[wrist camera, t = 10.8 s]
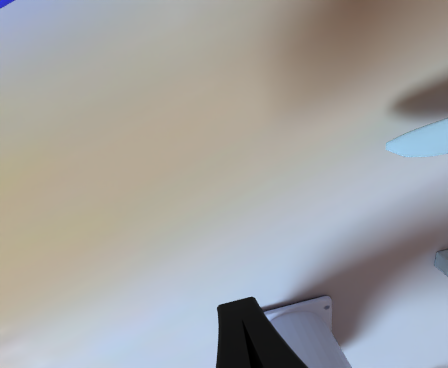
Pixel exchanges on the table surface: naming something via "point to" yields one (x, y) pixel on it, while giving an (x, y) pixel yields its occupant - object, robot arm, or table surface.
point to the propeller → (422, 141)
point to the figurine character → (5, 2)
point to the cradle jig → (442, 261)
